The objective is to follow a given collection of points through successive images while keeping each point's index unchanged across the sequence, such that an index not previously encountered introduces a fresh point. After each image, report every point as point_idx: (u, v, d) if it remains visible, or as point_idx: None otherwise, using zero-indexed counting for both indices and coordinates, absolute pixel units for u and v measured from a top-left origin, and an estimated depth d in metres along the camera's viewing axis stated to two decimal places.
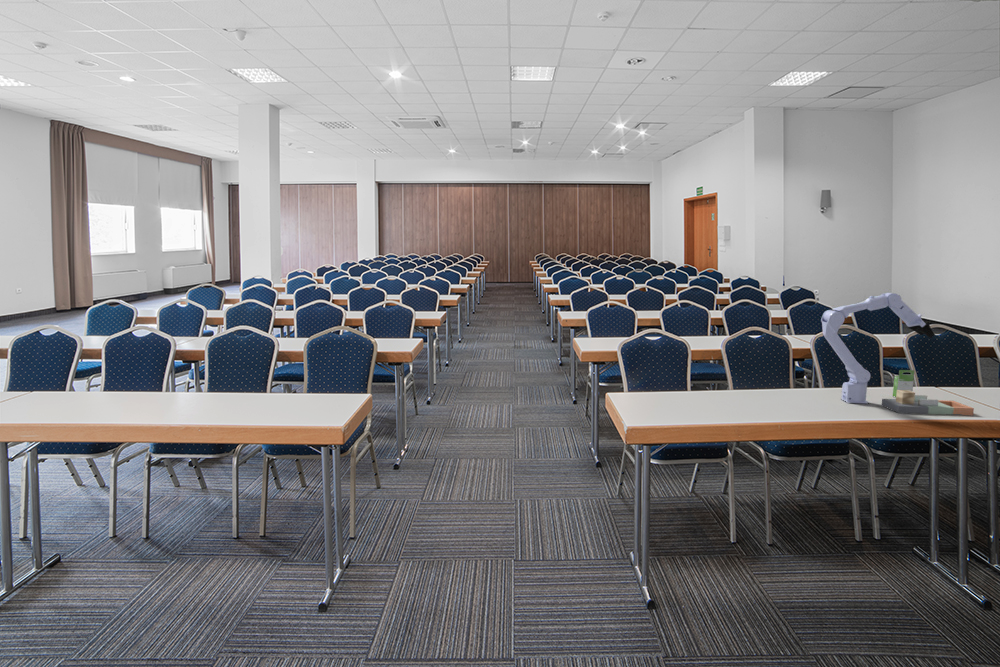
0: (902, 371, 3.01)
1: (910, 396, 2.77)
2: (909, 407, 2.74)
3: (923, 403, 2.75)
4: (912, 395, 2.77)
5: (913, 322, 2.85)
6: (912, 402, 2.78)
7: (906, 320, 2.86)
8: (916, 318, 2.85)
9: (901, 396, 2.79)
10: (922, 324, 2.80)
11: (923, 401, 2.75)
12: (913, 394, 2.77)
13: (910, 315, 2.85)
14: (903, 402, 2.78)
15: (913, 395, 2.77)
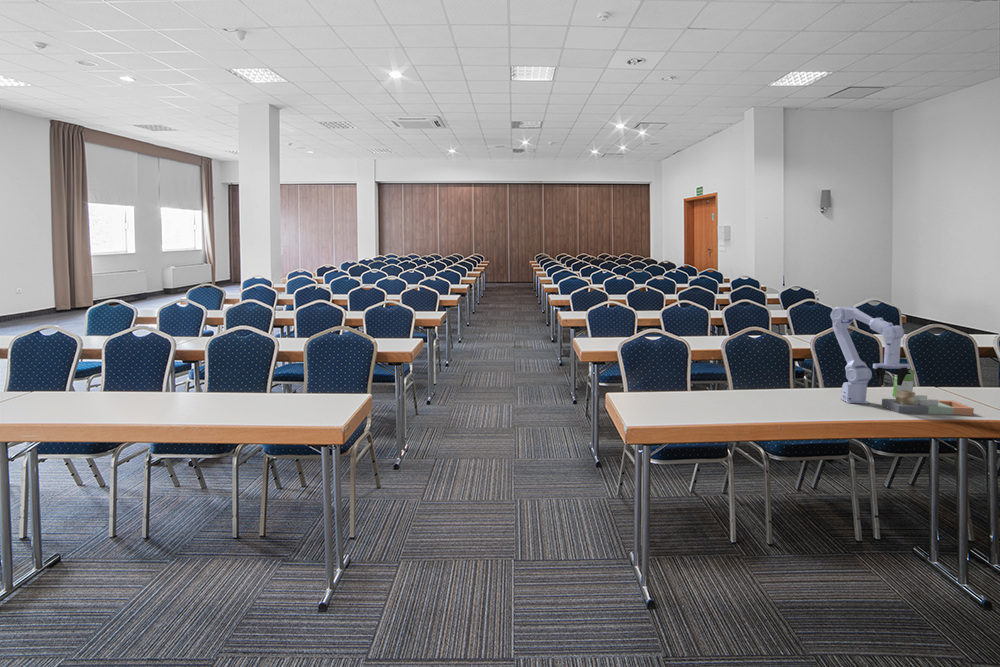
0: None
1: (910, 396, 2.77)
2: (909, 407, 2.74)
3: (923, 403, 2.75)
4: (912, 395, 2.77)
5: None
6: (912, 402, 2.78)
7: None
8: (886, 362, 2.78)
9: (901, 396, 2.79)
10: (873, 366, 2.79)
11: (923, 401, 2.75)
12: (913, 394, 2.77)
13: (885, 355, 2.78)
14: (903, 402, 2.78)
15: (913, 395, 2.77)
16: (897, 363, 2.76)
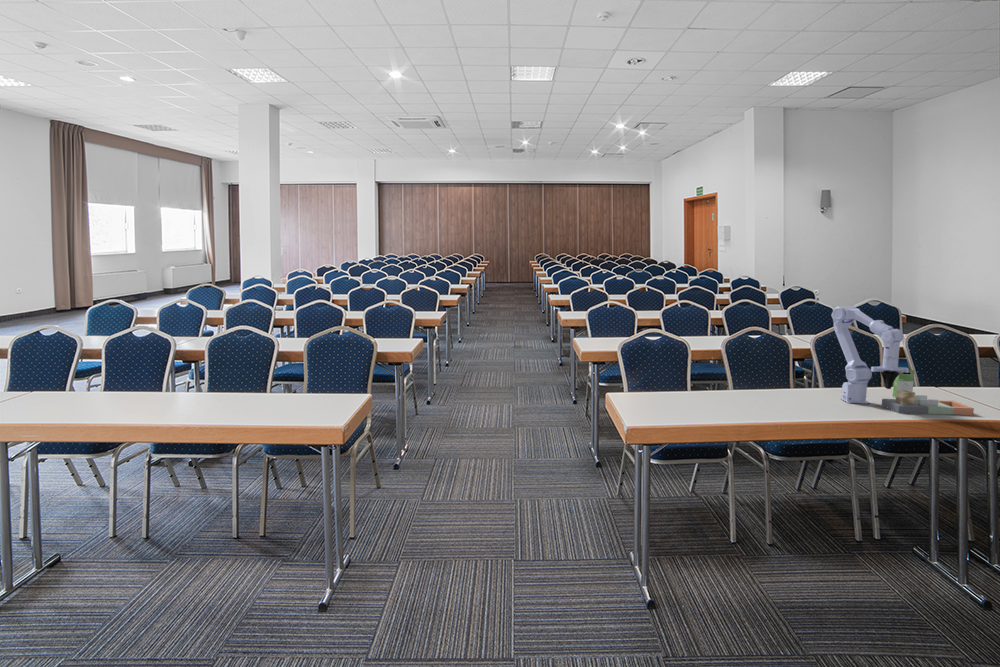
0: None
1: (910, 396, 2.77)
2: (909, 407, 2.74)
3: (923, 403, 2.75)
4: (912, 395, 2.77)
5: (882, 366, 2.80)
6: (912, 402, 2.78)
7: None
8: (884, 365, 2.78)
9: (901, 396, 2.79)
10: (871, 369, 2.80)
11: (923, 401, 2.75)
12: (913, 394, 2.77)
13: (883, 359, 2.79)
14: (903, 402, 2.78)
15: (913, 395, 2.77)
16: (895, 367, 2.76)
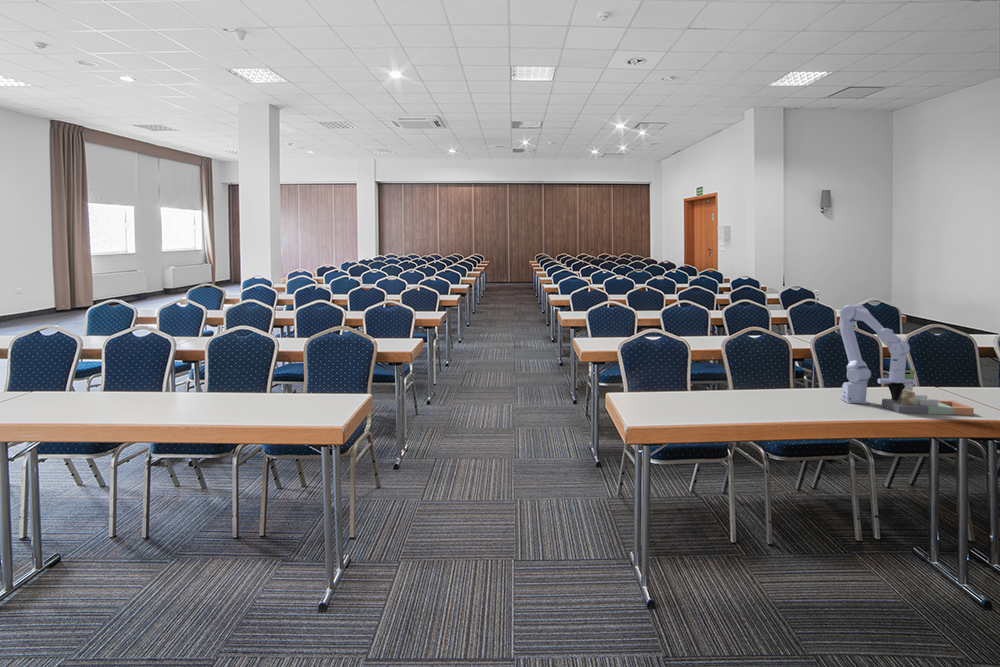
0: None
1: (910, 396, 2.77)
2: (909, 407, 2.74)
3: (923, 403, 2.75)
4: (912, 395, 2.77)
5: None
6: (912, 402, 2.78)
7: None
8: (891, 377, 2.78)
9: (901, 396, 2.79)
10: (878, 381, 2.80)
11: (923, 401, 2.75)
12: (913, 394, 2.77)
13: (890, 371, 2.79)
14: (903, 402, 2.78)
15: (913, 395, 2.77)
16: (902, 379, 2.77)
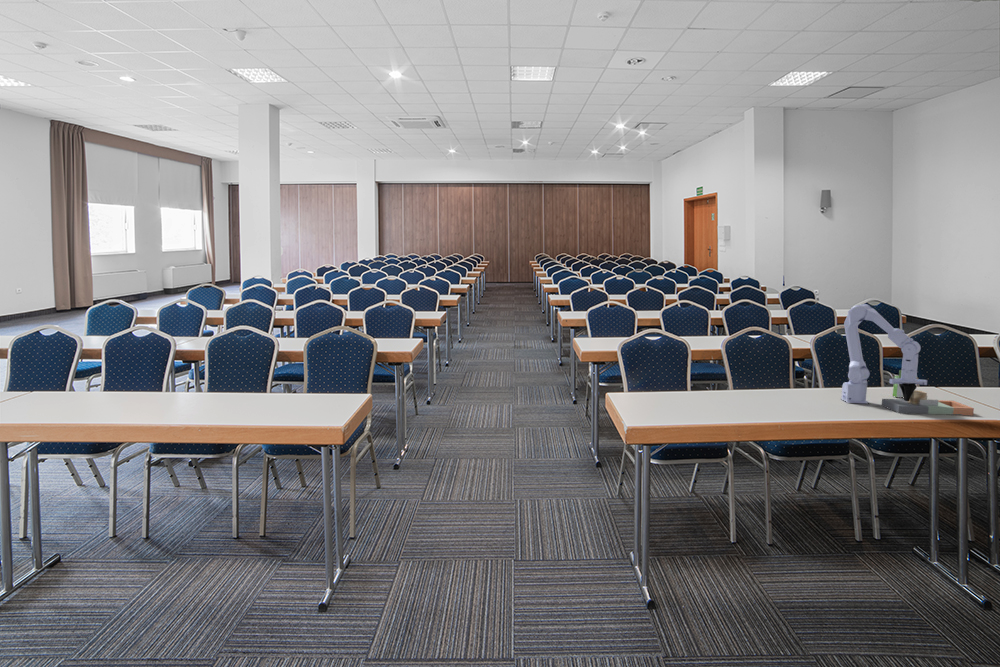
0: None
1: (922, 396, 2.77)
2: (909, 407, 2.74)
3: (923, 403, 2.75)
4: (923, 395, 2.77)
5: (900, 378, 2.80)
6: None
7: None
8: (903, 378, 2.78)
9: (912, 396, 2.78)
10: (890, 381, 2.80)
11: (923, 401, 2.75)
12: (925, 394, 2.77)
13: (902, 371, 2.79)
14: (914, 402, 2.78)
15: (925, 395, 2.77)
16: (914, 379, 2.76)
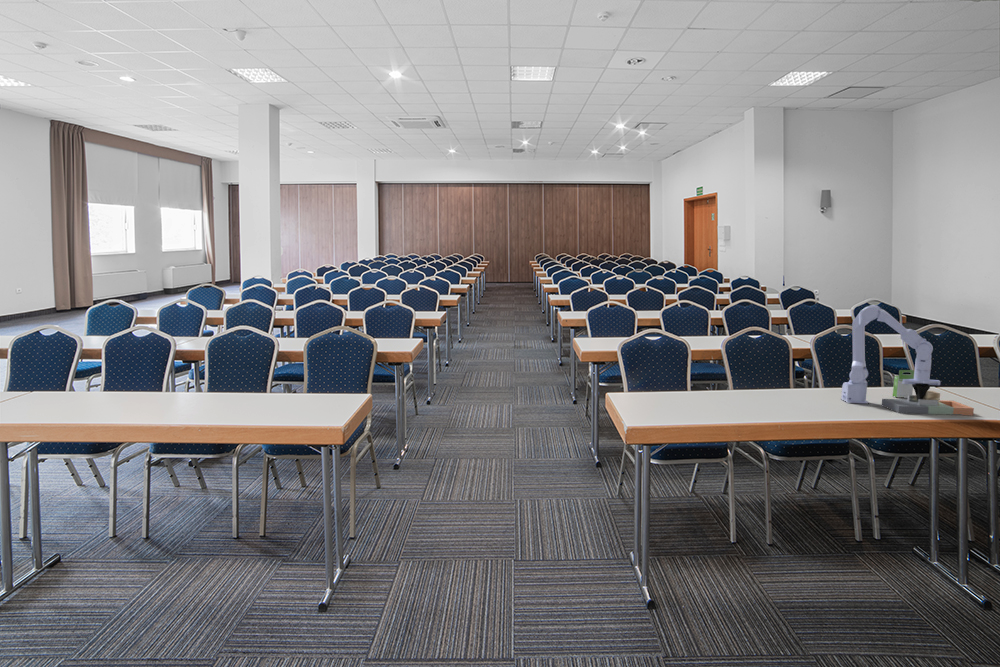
0: (902, 371, 3.01)
1: (935, 396, 2.77)
2: (909, 407, 2.74)
3: (923, 403, 2.75)
4: (937, 396, 2.76)
5: None
6: None
7: None
8: (916, 378, 2.78)
9: (926, 397, 2.78)
10: (903, 381, 2.79)
11: (923, 401, 2.75)
12: (938, 395, 2.76)
13: (915, 371, 2.78)
14: None
15: (938, 396, 2.76)
16: (927, 379, 2.76)
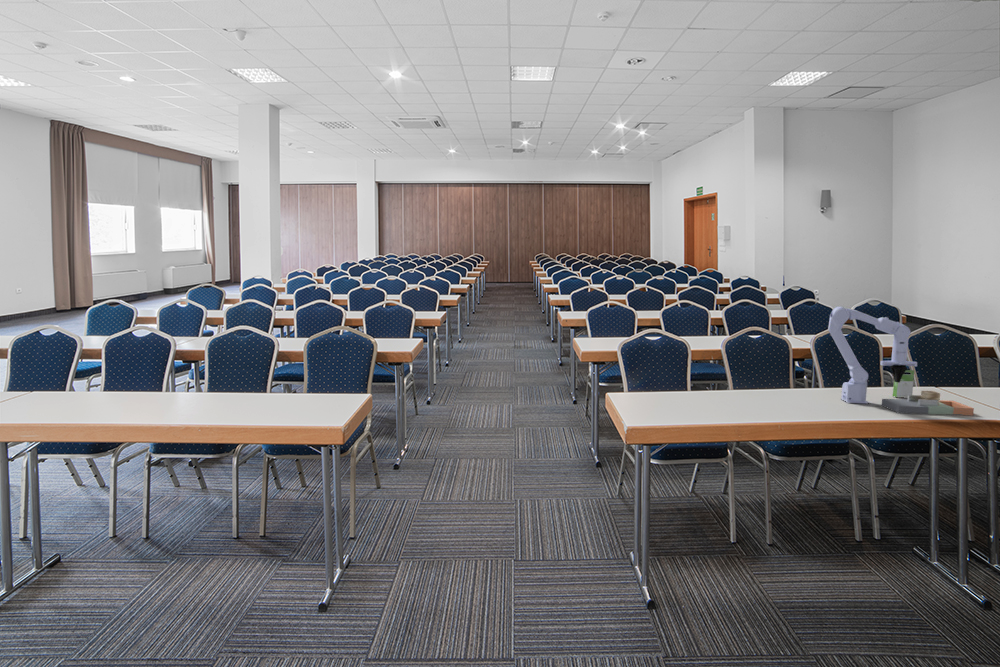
0: None
1: (935, 396, 2.77)
2: (909, 407, 2.74)
3: (923, 403, 2.75)
4: (937, 396, 2.76)
5: (891, 360, 2.88)
6: None
7: None
8: (893, 360, 2.86)
9: (926, 397, 2.78)
10: (881, 363, 2.88)
11: (923, 401, 2.75)
12: (938, 395, 2.76)
13: (892, 353, 2.87)
14: None
15: (938, 396, 2.76)
16: (904, 361, 2.84)
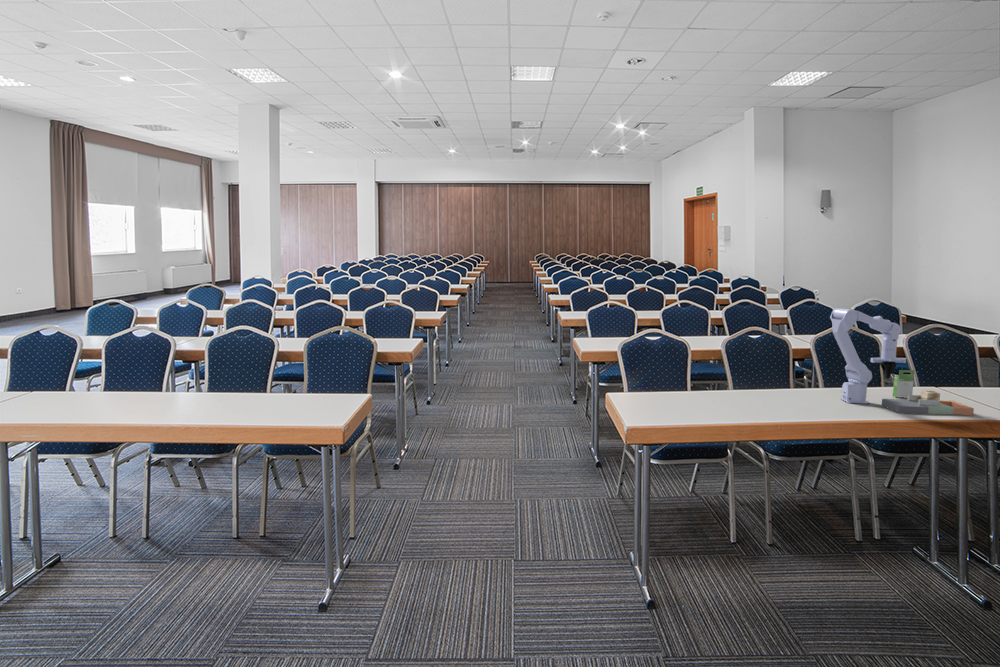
0: (902, 371, 3.01)
1: (935, 396, 2.77)
2: (909, 407, 2.74)
3: (923, 403, 2.75)
4: (937, 396, 2.76)
5: (881, 357, 2.96)
6: None
7: None
8: (883, 357, 2.94)
9: (926, 397, 2.78)
10: (871, 360, 2.96)
11: (923, 401, 2.75)
12: (938, 395, 2.76)
13: (882, 350, 2.95)
14: None
15: (938, 396, 2.76)
16: (893, 357, 2.92)
